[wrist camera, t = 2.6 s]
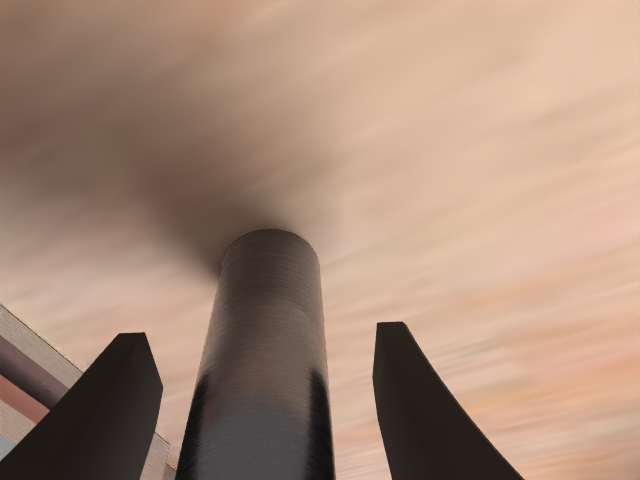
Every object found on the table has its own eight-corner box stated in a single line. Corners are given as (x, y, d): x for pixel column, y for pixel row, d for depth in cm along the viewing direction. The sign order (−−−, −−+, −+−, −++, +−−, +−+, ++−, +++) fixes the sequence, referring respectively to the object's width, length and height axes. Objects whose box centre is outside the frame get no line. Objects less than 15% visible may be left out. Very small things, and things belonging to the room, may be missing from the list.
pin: (316, 322, 15) (339, 748, 7) (203, 305, 14) (89, 755, 6) (347, 231, 13) (429, 686, 5) (217, 206, 12) (77, 687, 4)
